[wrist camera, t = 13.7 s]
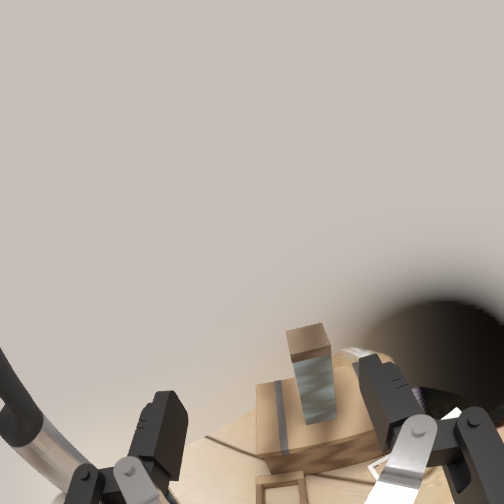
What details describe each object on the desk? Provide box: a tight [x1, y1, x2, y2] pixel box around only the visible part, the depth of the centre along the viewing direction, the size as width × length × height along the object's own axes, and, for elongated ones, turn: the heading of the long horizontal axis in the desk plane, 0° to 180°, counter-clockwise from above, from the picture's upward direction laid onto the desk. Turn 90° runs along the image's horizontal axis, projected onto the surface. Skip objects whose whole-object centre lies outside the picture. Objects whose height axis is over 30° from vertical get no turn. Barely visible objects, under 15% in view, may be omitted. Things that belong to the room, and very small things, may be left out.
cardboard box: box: [256, 362, 391, 504], centre depth 33 cm, size 21×20×10 cm
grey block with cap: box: [286, 323, 336, 425], centre depth 32 cm, size 4×4×13 cm
